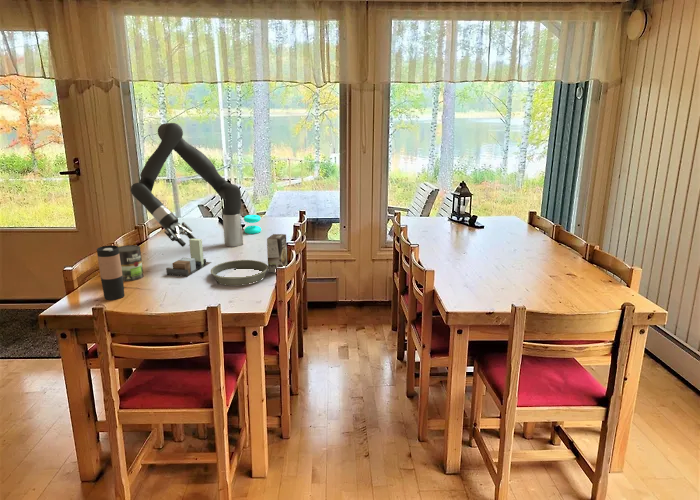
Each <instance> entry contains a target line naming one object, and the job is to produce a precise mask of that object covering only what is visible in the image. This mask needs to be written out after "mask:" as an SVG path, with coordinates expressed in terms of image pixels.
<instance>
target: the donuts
mask: <svg viewBox="0 0 700 500" xmlns="http://www.w3.org/2000/svg"><path fill="white" fill-rule="evenodd" d="M243 221H244V222H245V223H249V224H256V223H259V222H260V221H261V216H260V215H258V214H248V215H245V216H244V217H243ZM261 231H262V227H260V225H248V226H246V227H245V228H244V230H243V232H244V233H245V234H249V235H256V234H259V233H261ZM255 233H256V234H255Z"/></svg>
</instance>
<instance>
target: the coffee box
mask: <svg viewBox="0 0 700 500" xmlns="http://www.w3.org/2000/svg"><path fill="white" fill-rule="evenodd" d="M266 249H267V251H266V252H267V266H268V269H267V272H268V273H269V272H274V273H273V274H276V273H275V269H276V268H277V267H283V266H286V265H287V266H288V254H287V253H288V252H287V250H288V249H287V234H284V233H281V234H279V233H277V234H276V233H273V234H272V235H270V236H269V237H267V238H266Z"/></svg>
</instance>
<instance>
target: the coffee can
mask: <svg viewBox="0 0 700 500" xmlns="http://www.w3.org/2000/svg"><path fill="white" fill-rule="evenodd" d="M118 248H119V255H120V262H121V268H122V275H123V282H132V281H138V280H141V279H143V278H144V267H143V260H142V252H141V246H140V245H136V244H135V245H134V244H129V245H128V244H127V245H122V246H118Z"/></svg>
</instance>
